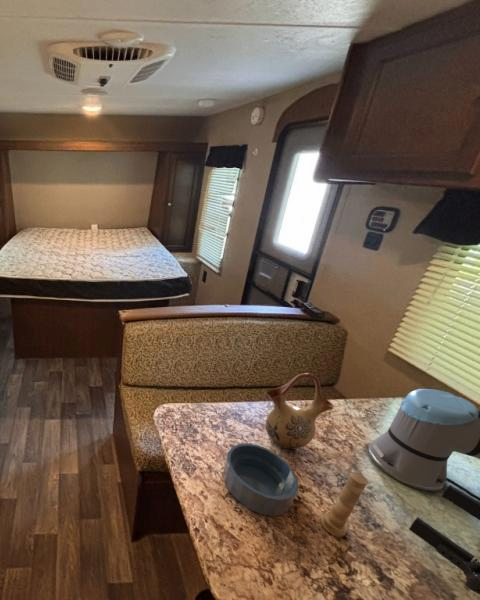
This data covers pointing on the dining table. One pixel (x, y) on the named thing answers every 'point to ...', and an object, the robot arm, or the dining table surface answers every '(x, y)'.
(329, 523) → the wooden pestle
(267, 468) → the bowl
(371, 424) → the dining table surface
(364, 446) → the dining table surface
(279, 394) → the ceramic vessel
